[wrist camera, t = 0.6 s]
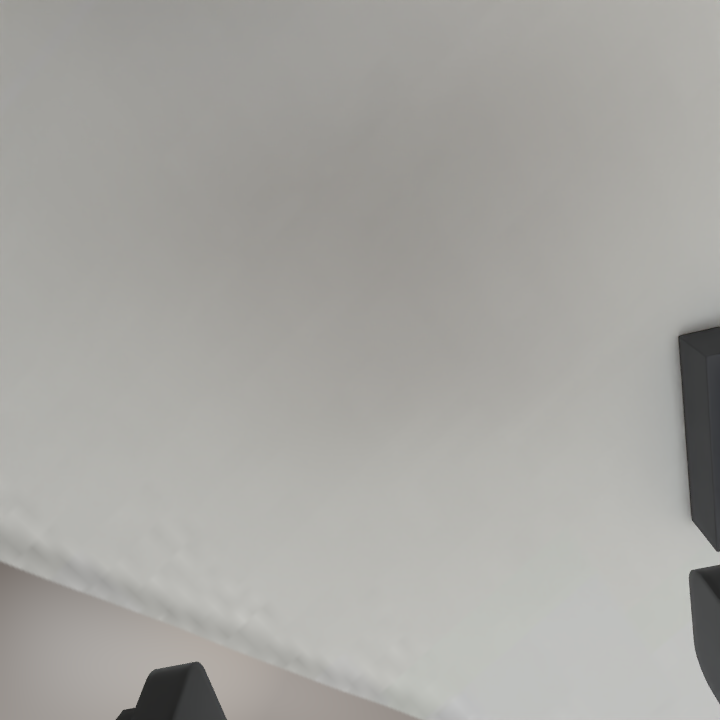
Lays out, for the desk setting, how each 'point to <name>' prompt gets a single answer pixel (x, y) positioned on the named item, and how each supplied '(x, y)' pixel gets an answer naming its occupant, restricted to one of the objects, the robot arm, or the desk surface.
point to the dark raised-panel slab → (703, 427)
